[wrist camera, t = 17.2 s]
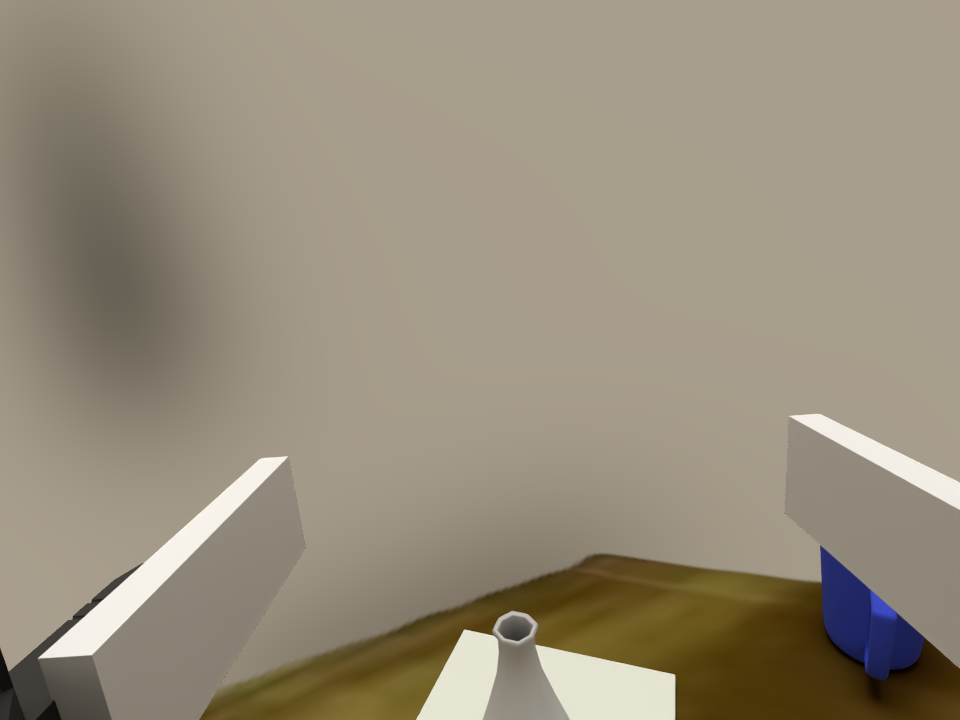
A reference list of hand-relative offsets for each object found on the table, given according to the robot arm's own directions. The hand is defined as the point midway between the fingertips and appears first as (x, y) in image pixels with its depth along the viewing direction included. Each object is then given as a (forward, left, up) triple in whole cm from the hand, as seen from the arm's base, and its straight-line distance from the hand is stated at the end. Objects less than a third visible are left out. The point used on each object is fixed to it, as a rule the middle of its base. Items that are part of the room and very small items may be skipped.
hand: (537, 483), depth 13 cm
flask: (+8, -18, -31) cm, 37 cm away
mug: (-19, -34, -32) cm, 51 cm away
